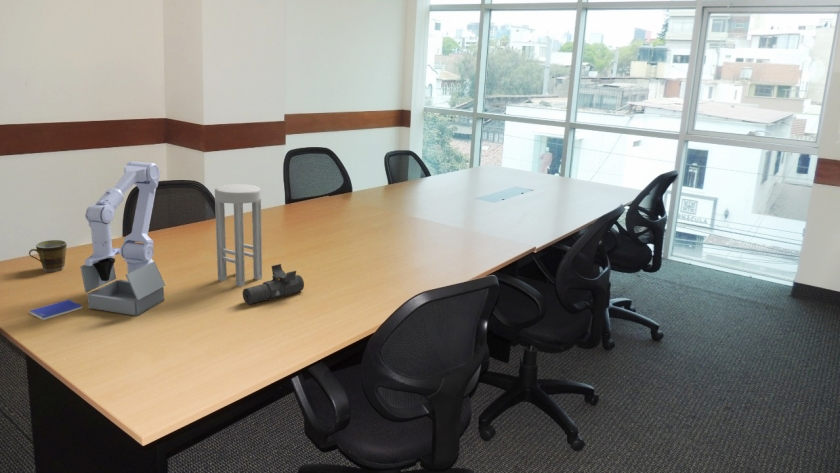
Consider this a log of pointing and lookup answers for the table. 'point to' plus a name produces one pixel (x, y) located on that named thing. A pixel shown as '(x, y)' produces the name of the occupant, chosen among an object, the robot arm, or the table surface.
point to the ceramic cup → (51, 254)
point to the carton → (123, 299)
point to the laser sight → (274, 286)
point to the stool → (238, 230)
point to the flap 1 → (94, 277)
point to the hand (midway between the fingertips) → (105, 280)
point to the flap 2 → (145, 280)
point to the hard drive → (55, 309)
